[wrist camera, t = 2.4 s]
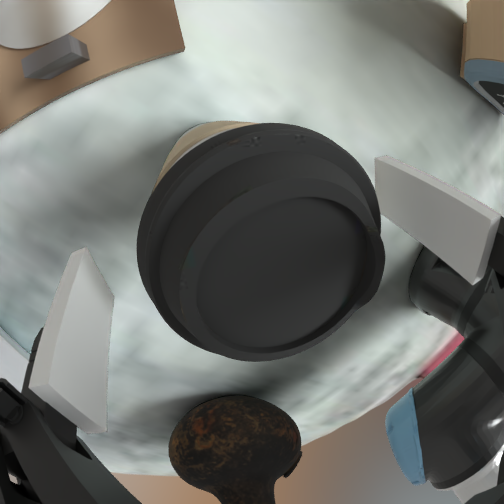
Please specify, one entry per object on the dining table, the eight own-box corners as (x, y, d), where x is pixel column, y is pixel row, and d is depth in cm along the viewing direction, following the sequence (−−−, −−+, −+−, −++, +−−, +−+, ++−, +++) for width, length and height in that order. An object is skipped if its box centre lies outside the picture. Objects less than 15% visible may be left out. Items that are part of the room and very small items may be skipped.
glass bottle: (264, 430, 45) (319, 562, 22) (162, 438, 39) (199, 591, 16) (300, 371, 37) (391, 548, 14) (164, 378, 31) (219, 611, 8)
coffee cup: (161, 232, 22) (172, 406, 10) (144, 115, 17) (91, 160, 5) (272, 215, 24) (379, 350, 12) (271, 104, 19) (434, 141, 7)
